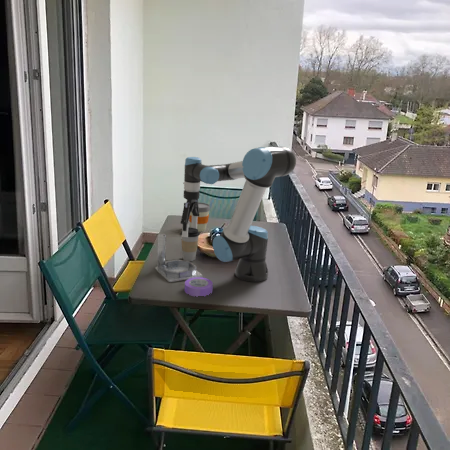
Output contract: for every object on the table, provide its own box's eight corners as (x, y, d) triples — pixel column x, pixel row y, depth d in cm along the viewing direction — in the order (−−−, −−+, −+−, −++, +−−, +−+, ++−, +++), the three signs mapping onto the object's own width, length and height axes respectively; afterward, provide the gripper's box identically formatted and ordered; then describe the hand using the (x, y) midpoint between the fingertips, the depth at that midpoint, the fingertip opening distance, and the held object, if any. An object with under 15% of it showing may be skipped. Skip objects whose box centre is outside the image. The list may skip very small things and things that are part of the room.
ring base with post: (202, 276, 206) (204, 241, 201) (169, 282, 198) (170, 245, 193) (186, 264, 219) (188, 230, 214) (155, 269, 211) (156, 234, 207)
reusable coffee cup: (186, 231, 267) (187, 206, 262) (188, 225, 279) (189, 201, 274) (207, 233, 267) (209, 208, 262) (209, 227, 279) (210, 203, 274)
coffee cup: (194, 263, 221) (195, 234, 216) (176, 260, 223) (177, 231, 219) (201, 257, 229) (202, 228, 225) (184, 254, 232) (185, 225, 228)
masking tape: (184, 296, 187) (184, 288, 185) (184, 284, 198) (185, 276, 197) (212, 297, 188) (213, 289, 186) (211, 285, 199) (212, 277, 198)
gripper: (192, 184, 229) (190, 224, 235) (174, 194, 205) (173, 239, 212) (207, 185, 227) (204, 226, 233) (190, 197, 204) (188, 241, 210)
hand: (189, 232), depth 223 cm, fingers open, 13 cm apart
